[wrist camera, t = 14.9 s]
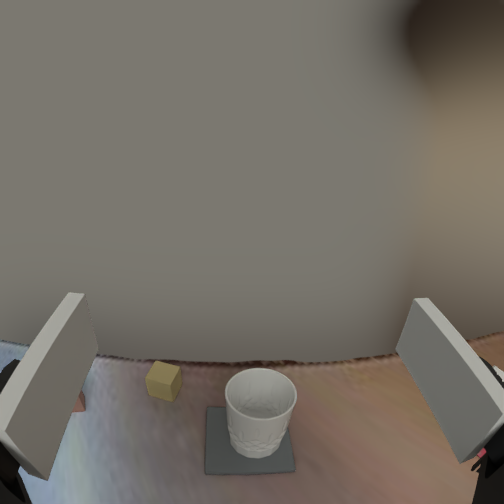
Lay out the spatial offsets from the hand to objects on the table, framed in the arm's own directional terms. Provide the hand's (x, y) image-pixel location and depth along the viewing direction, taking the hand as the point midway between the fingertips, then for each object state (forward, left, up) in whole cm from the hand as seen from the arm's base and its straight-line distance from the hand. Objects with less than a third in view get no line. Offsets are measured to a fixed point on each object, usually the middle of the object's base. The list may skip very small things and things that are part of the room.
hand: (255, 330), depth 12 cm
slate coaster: (+2, +14, -30) cm, 33 cm away
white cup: (+3, +14, -30) cm, 33 cm away
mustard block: (-10, +23, -30) cm, 39 cm away
